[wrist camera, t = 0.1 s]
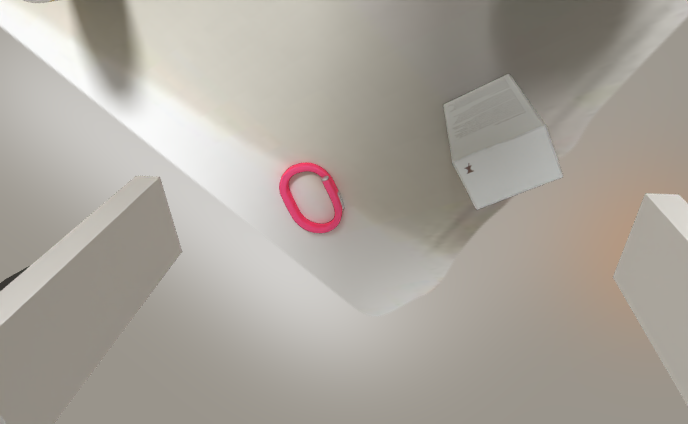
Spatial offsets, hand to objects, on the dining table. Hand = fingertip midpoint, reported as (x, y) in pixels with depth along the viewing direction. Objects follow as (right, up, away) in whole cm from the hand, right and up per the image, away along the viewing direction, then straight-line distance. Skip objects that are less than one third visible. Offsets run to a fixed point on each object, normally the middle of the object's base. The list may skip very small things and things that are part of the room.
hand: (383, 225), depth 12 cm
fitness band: (-4, +2, +33) cm, 34 cm away
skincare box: (+11, +9, +26) cm, 30 cm away
